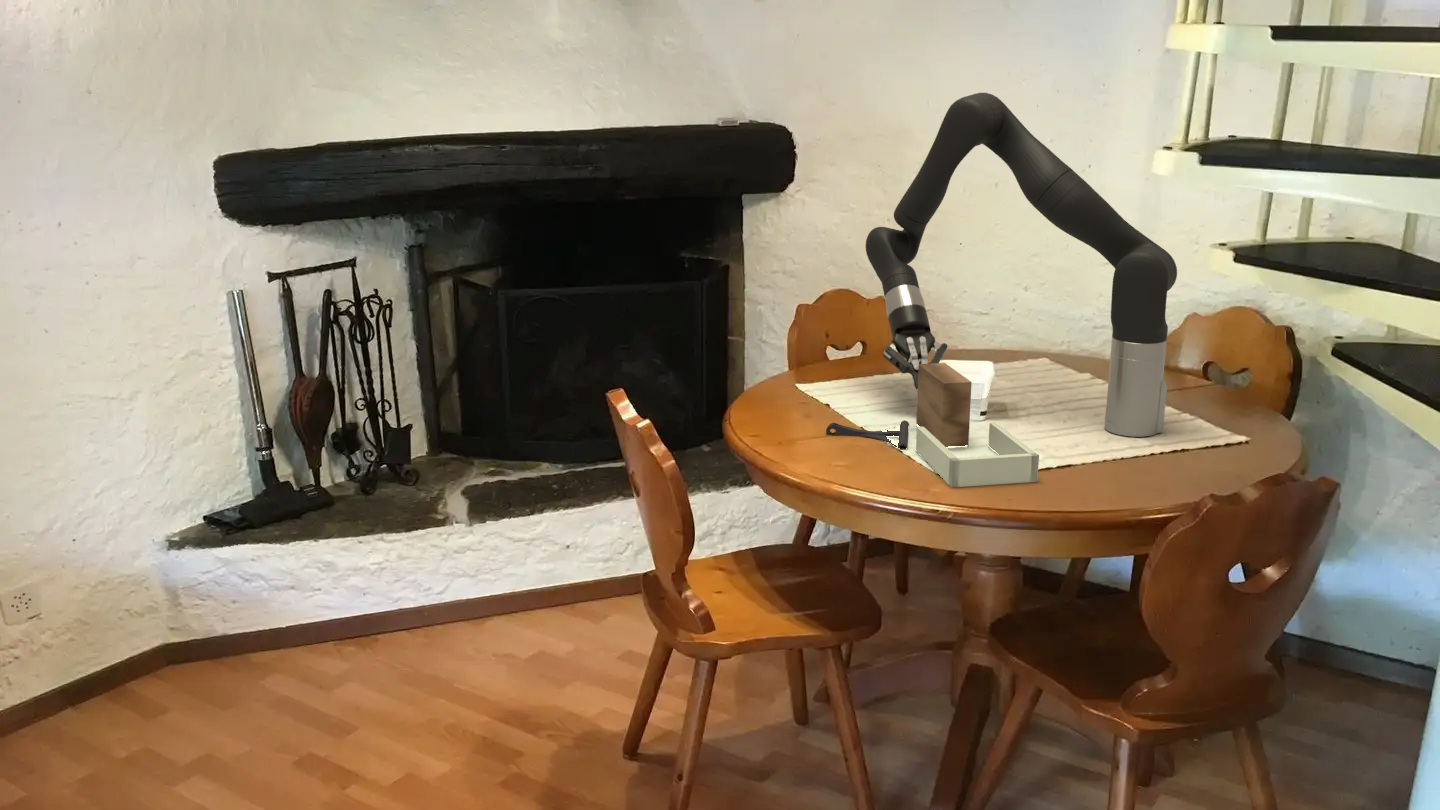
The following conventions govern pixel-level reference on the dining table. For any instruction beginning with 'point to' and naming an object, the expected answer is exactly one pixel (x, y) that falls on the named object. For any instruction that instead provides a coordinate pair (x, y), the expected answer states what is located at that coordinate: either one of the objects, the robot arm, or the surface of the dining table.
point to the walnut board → (944, 403)
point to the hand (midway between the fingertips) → (924, 389)
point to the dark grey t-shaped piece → (872, 433)
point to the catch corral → (981, 460)
